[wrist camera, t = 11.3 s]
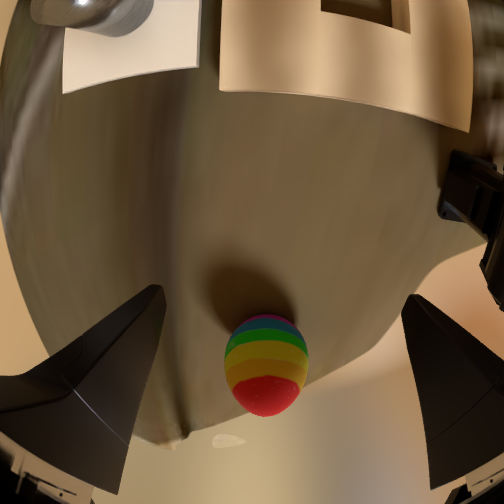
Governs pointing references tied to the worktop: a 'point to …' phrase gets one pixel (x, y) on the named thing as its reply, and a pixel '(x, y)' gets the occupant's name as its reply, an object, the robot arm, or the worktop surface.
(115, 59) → the ceramic tile
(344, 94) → the pocket block
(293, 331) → the decorative egg
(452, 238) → the worktop surface
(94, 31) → the metal part
